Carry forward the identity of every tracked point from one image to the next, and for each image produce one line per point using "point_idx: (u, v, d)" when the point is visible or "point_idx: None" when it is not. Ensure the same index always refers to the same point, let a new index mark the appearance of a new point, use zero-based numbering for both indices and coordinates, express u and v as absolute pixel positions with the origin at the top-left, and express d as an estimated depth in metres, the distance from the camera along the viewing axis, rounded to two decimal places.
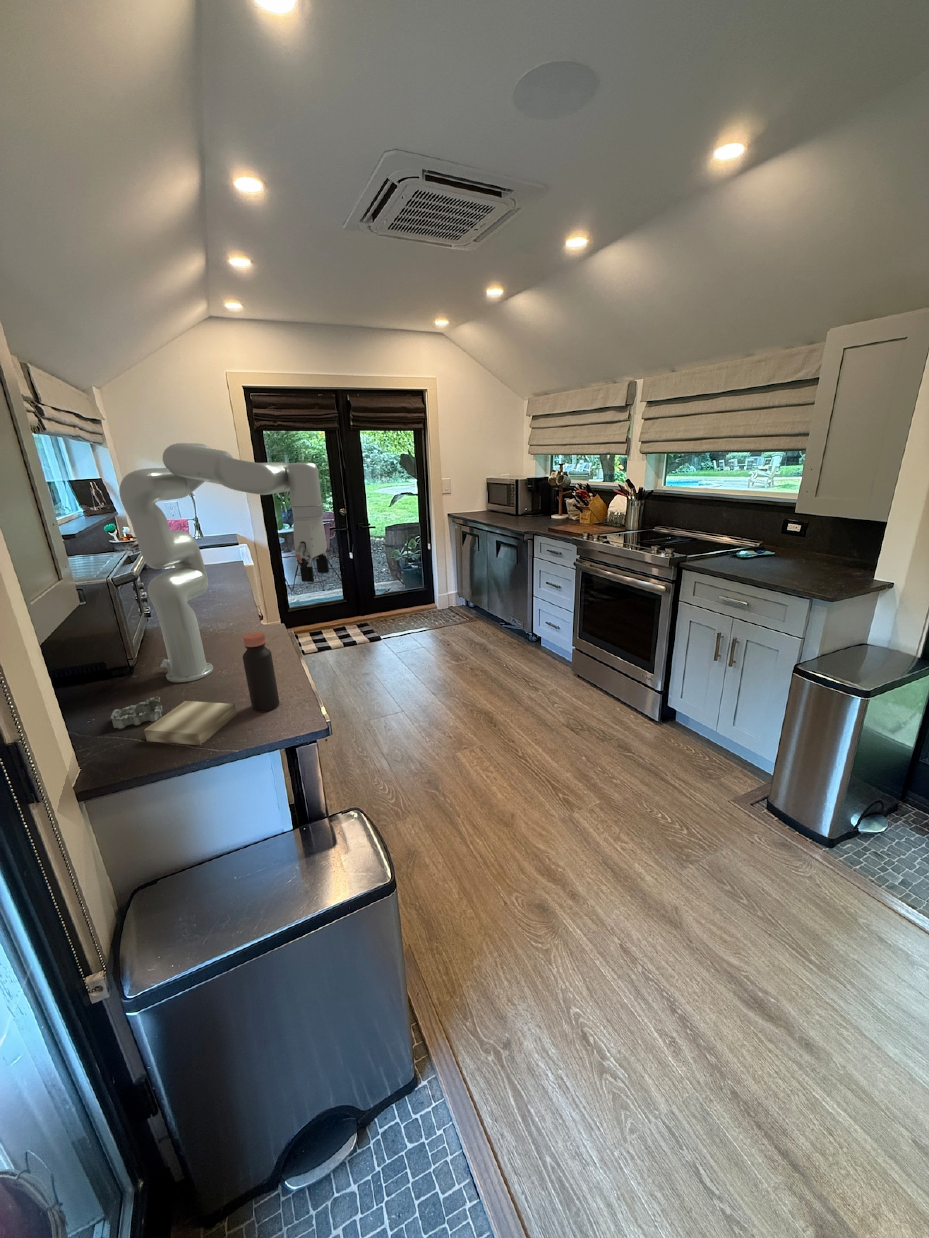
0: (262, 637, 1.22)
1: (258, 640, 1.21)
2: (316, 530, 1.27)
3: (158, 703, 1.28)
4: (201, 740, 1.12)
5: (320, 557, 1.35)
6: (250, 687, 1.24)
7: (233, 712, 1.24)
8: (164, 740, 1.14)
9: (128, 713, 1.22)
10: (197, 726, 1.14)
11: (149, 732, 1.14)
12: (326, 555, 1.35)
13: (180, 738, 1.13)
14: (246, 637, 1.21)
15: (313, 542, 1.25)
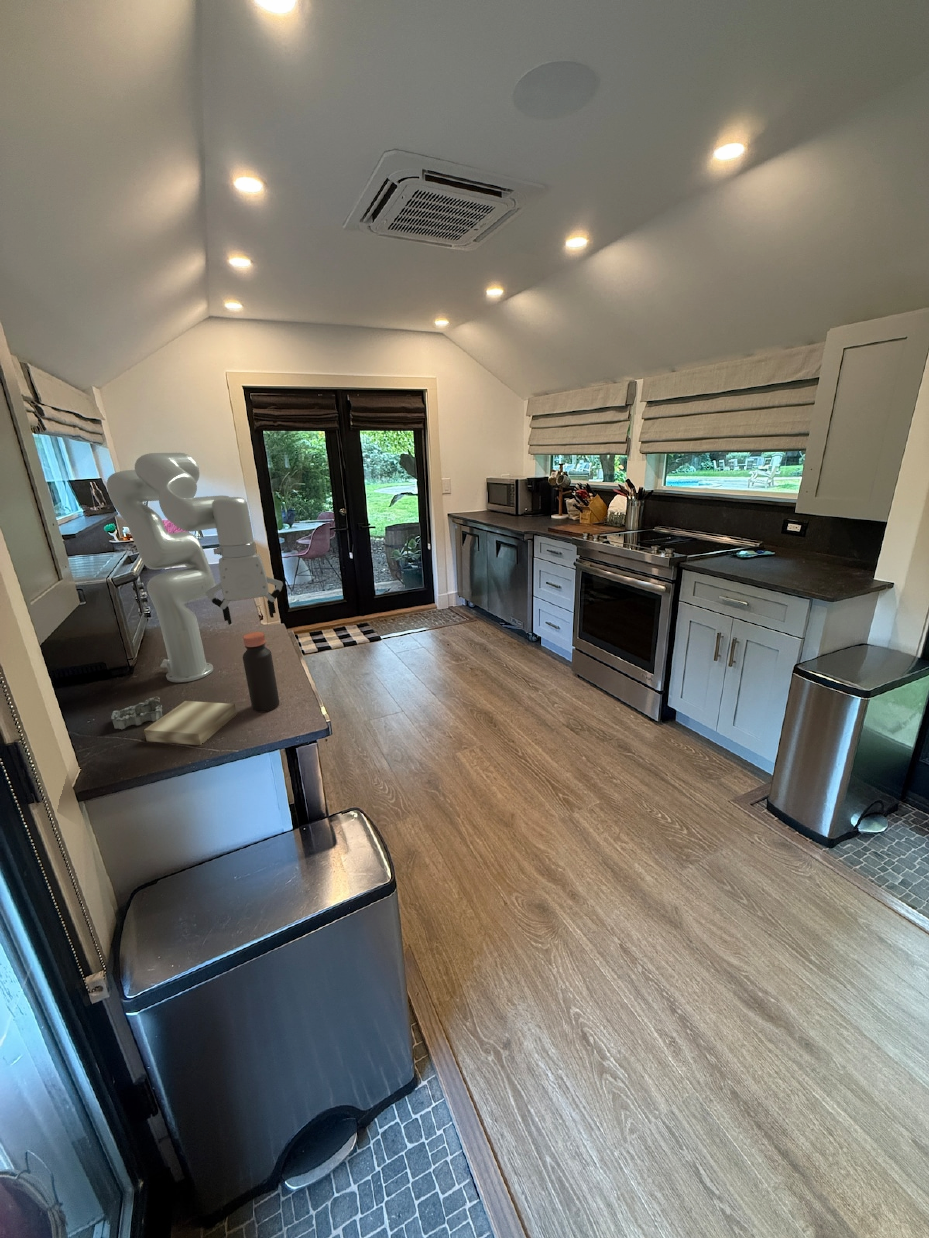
0: (262, 637, 1.22)
1: (258, 640, 1.21)
2: None
3: (158, 703, 1.28)
4: (201, 740, 1.12)
5: (227, 606, 1.18)
6: (250, 687, 1.24)
7: (233, 712, 1.24)
8: (164, 740, 1.14)
9: (128, 713, 1.22)
10: (197, 726, 1.14)
11: (149, 732, 1.14)
12: None
13: (180, 738, 1.13)
14: (246, 637, 1.21)
15: None
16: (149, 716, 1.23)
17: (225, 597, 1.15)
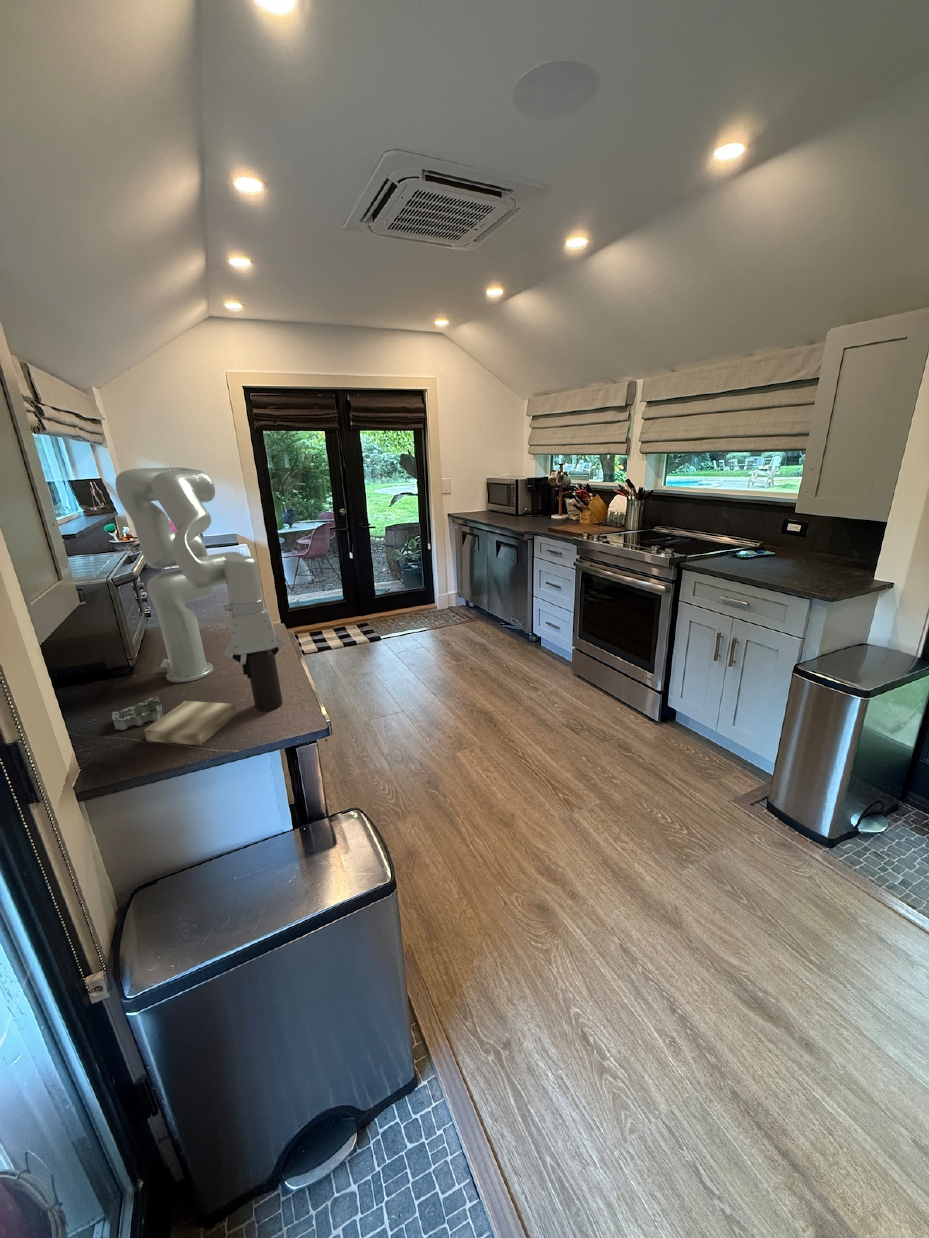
0: None
1: None
2: None
3: (157, 703, 1.28)
4: (201, 740, 1.12)
5: None
6: (253, 686, 1.25)
7: (233, 712, 1.24)
8: (164, 740, 1.14)
9: (129, 714, 1.22)
10: (197, 726, 1.14)
11: (149, 732, 1.14)
12: None
13: (180, 738, 1.13)
14: None
15: None
16: (150, 716, 1.23)
17: (235, 651, 1.20)
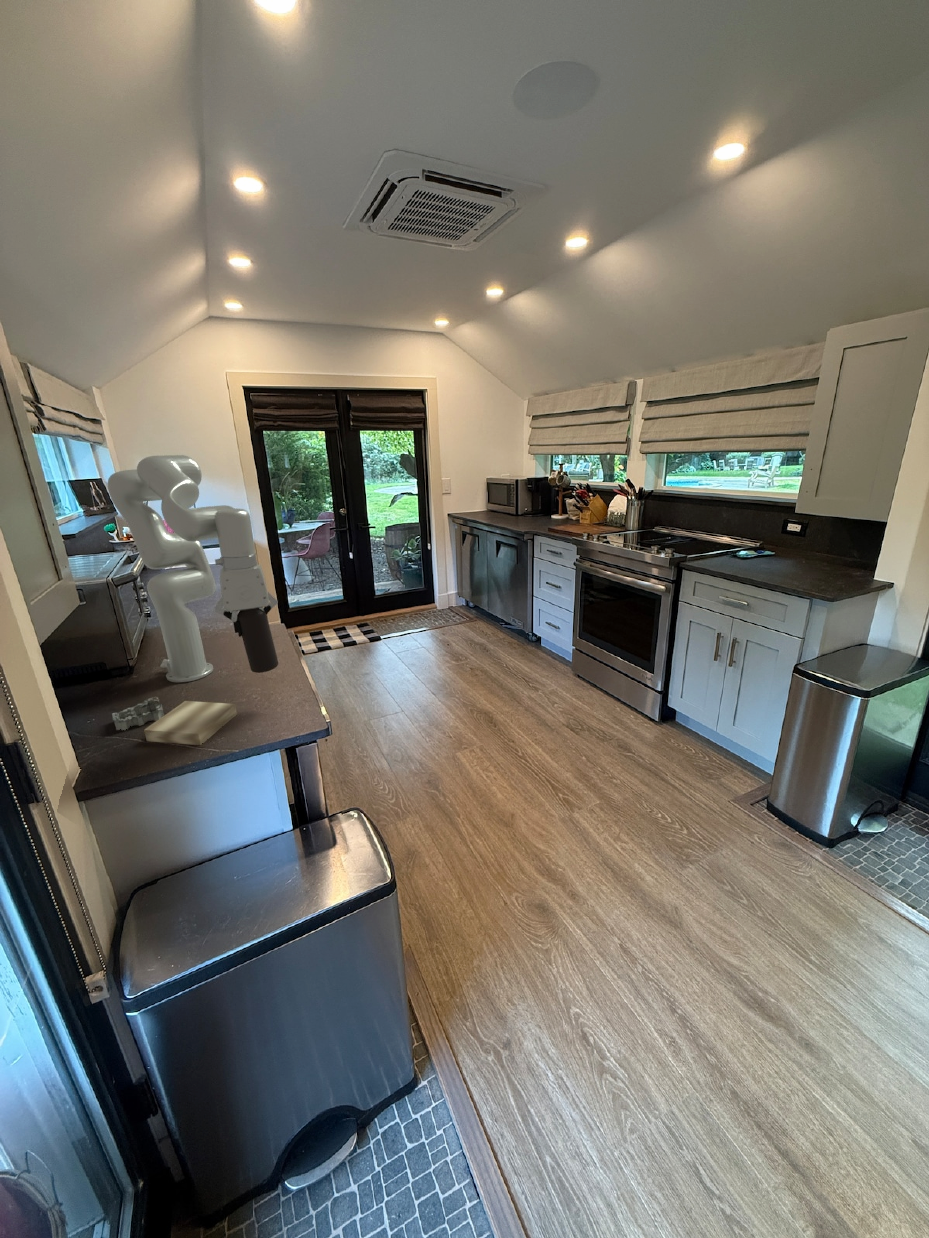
0: None
1: None
2: None
3: (157, 703, 1.28)
4: (201, 740, 1.12)
5: None
6: (248, 648, 1.21)
7: (233, 712, 1.24)
8: (164, 740, 1.14)
9: (130, 714, 1.22)
10: (197, 726, 1.14)
11: (149, 732, 1.14)
12: None
13: (180, 738, 1.13)
14: None
15: None
16: (151, 716, 1.23)
17: (225, 607, 1.16)
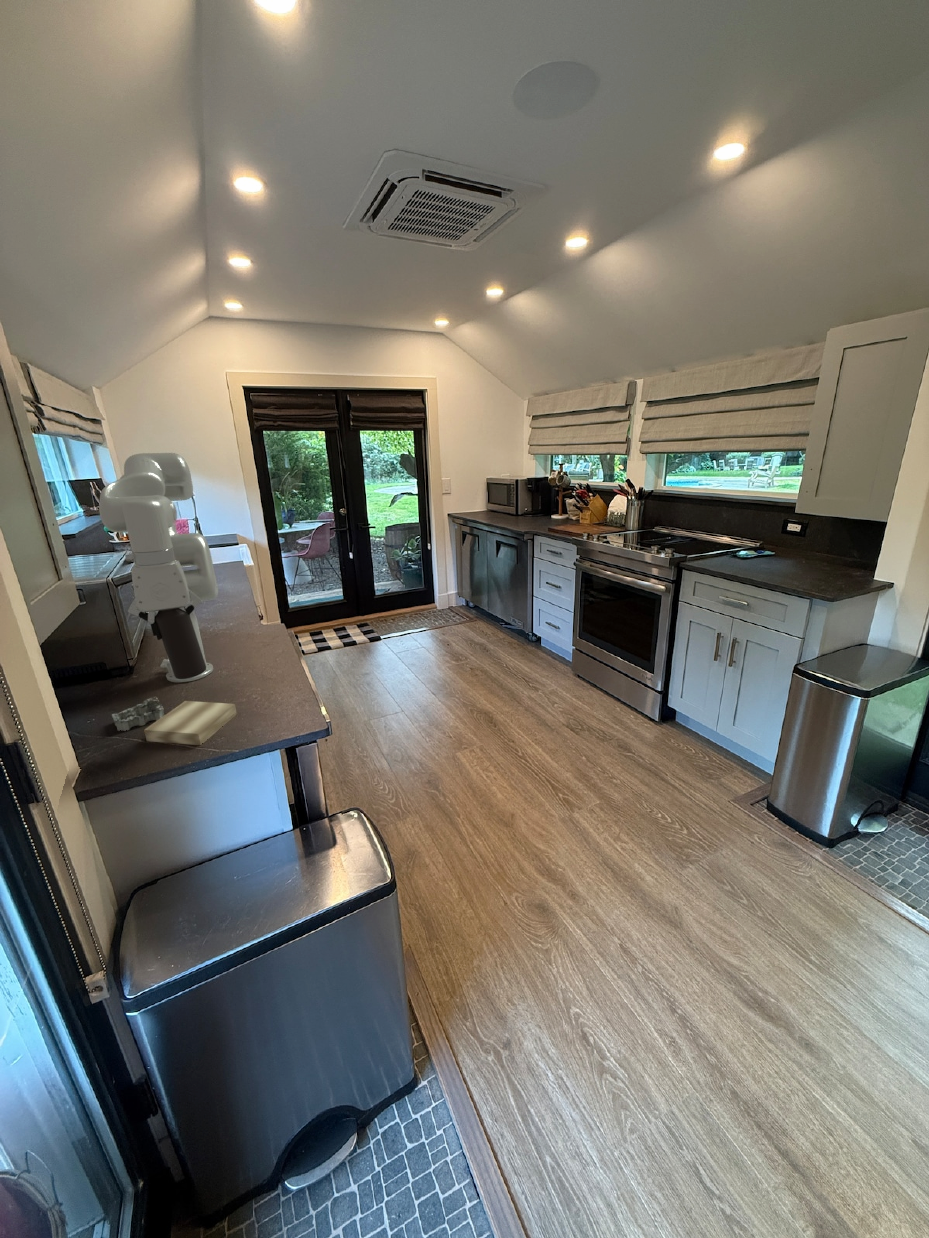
0: None
1: None
2: None
3: (156, 703, 1.28)
4: (201, 740, 1.12)
5: None
6: (168, 652, 1.11)
7: (233, 712, 1.24)
8: (164, 740, 1.14)
9: (131, 715, 1.21)
10: (197, 726, 1.14)
11: (149, 732, 1.14)
12: None
13: (180, 738, 1.13)
14: None
15: None
16: (152, 716, 1.23)
17: (139, 608, 1.06)
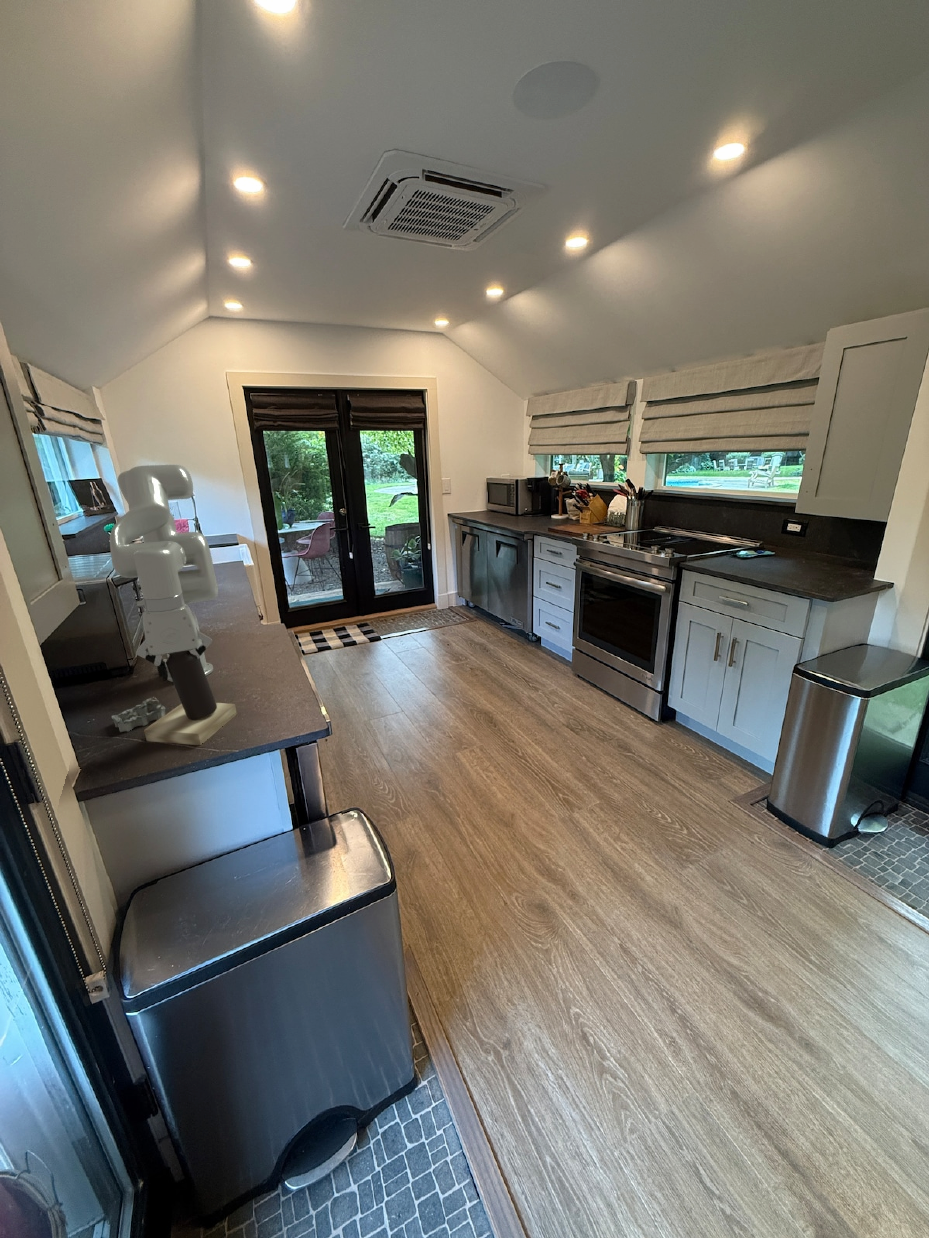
0: None
1: None
2: None
3: (155, 703, 1.28)
4: (201, 740, 1.12)
5: (162, 660, 1.13)
6: (180, 694, 1.14)
7: (233, 712, 1.24)
8: (164, 740, 1.14)
9: (132, 715, 1.21)
10: (197, 726, 1.14)
11: (149, 732, 1.14)
12: None
13: (180, 738, 1.13)
14: None
15: None
16: (154, 715, 1.23)
17: (150, 652, 1.09)
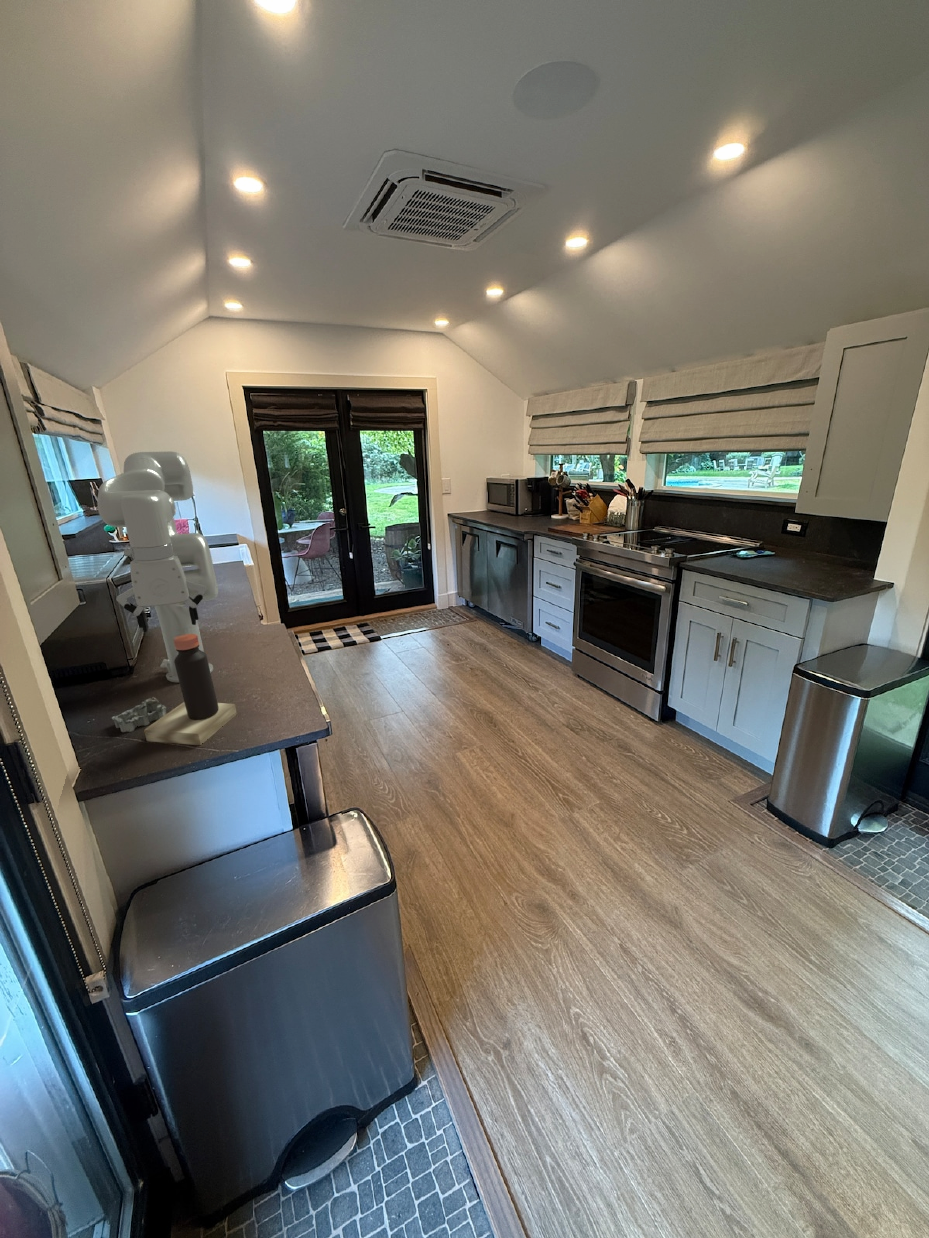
0: (195, 639, 1.14)
1: (191, 642, 1.12)
2: None
3: (155, 703, 1.28)
4: (201, 740, 1.12)
5: (142, 612, 1.08)
6: (185, 694, 1.15)
7: (233, 712, 1.24)
8: (164, 740, 1.14)
9: (133, 716, 1.21)
10: (197, 726, 1.14)
11: (149, 732, 1.14)
12: None
13: (180, 738, 1.13)
14: (177, 640, 1.12)
15: None
16: (155, 715, 1.24)
17: (138, 603, 1.05)
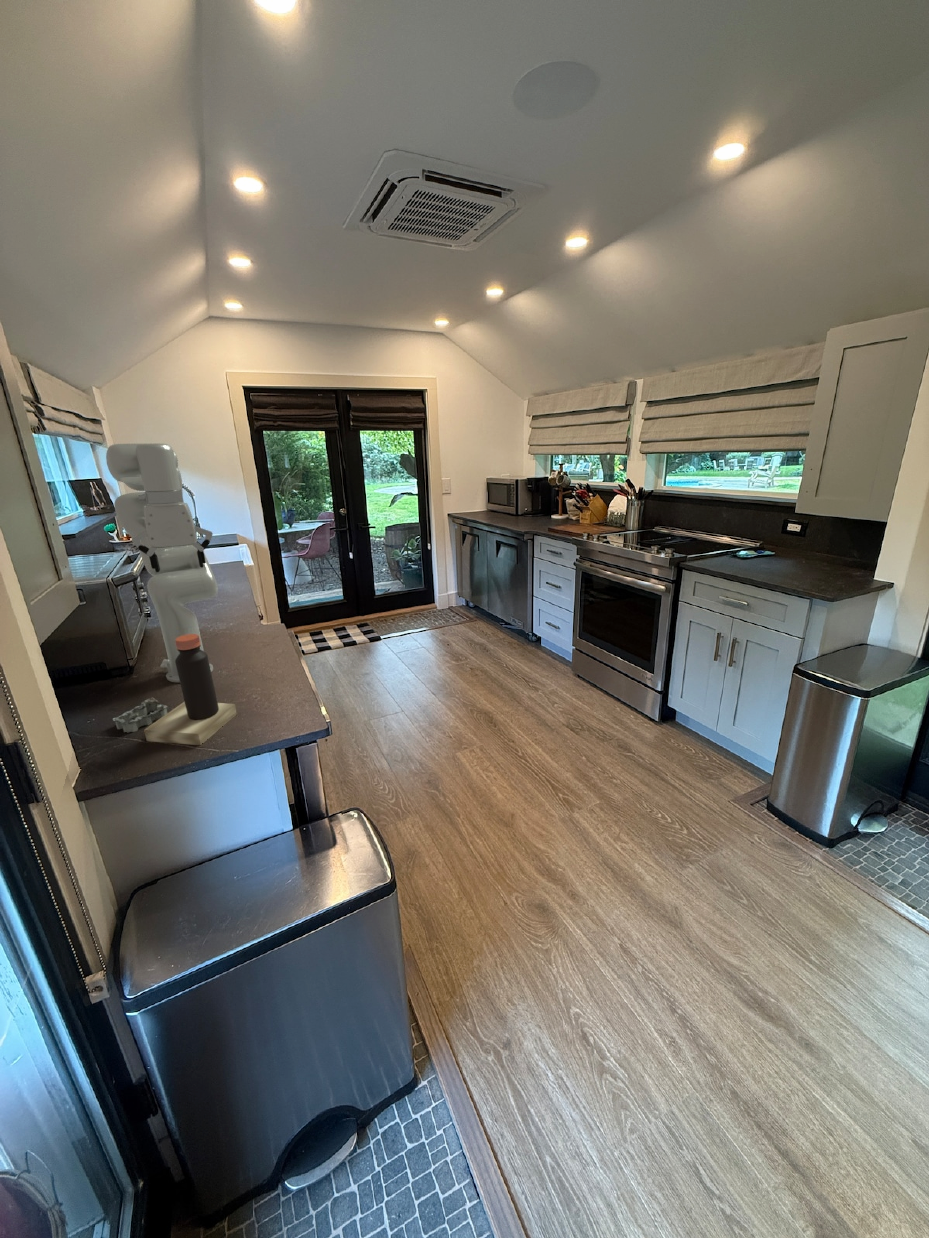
0: (197, 639, 1.14)
1: (192, 642, 1.13)
2: None
3: (154, 704, 1.28)
4: (201, 740, 1.12)
5: (154, 553, 1.19)
6: (185, 694, 1.15)
7: (233, 712, 1.24)
8: (164, 740, 1.14)
9: (135, 716, 1.21)
10: (197, 726, 1.14)
11: (149, 732, 1.14)
12: None
13: (180, 738, 1.13)
14: (179, 640, 1.12)
15: None
16: (157, 715, 1.24)
17: (151, 544, 1.16)
